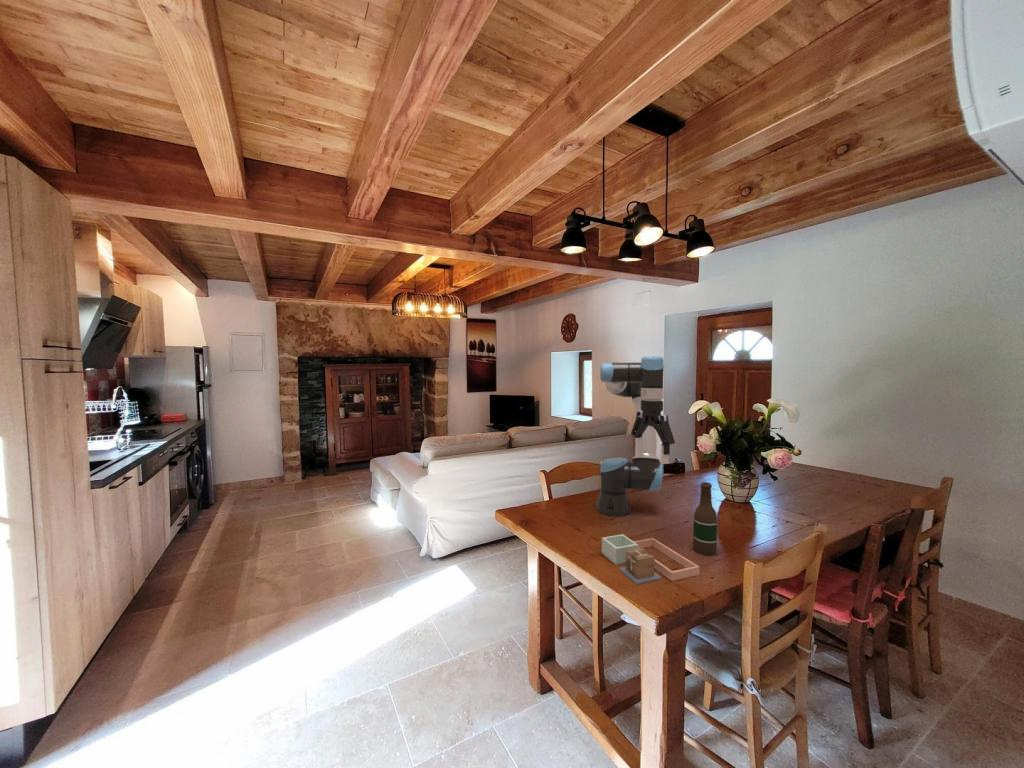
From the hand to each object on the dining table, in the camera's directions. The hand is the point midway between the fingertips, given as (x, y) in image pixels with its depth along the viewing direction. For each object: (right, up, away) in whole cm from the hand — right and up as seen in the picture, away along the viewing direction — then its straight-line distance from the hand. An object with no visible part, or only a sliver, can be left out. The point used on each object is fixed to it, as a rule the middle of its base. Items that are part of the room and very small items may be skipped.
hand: (651, 459), depth 137 cm
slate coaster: (-10, -32, -17) cm, 38 cm away
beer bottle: (+18, -32, -2) cm, 37 cm away
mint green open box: (-13, -32, -6) cm, 35 cm away
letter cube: (-10, -32, -18) cm, 38 cm away
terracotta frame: (0, -32, -9) cm, 33 cm away
